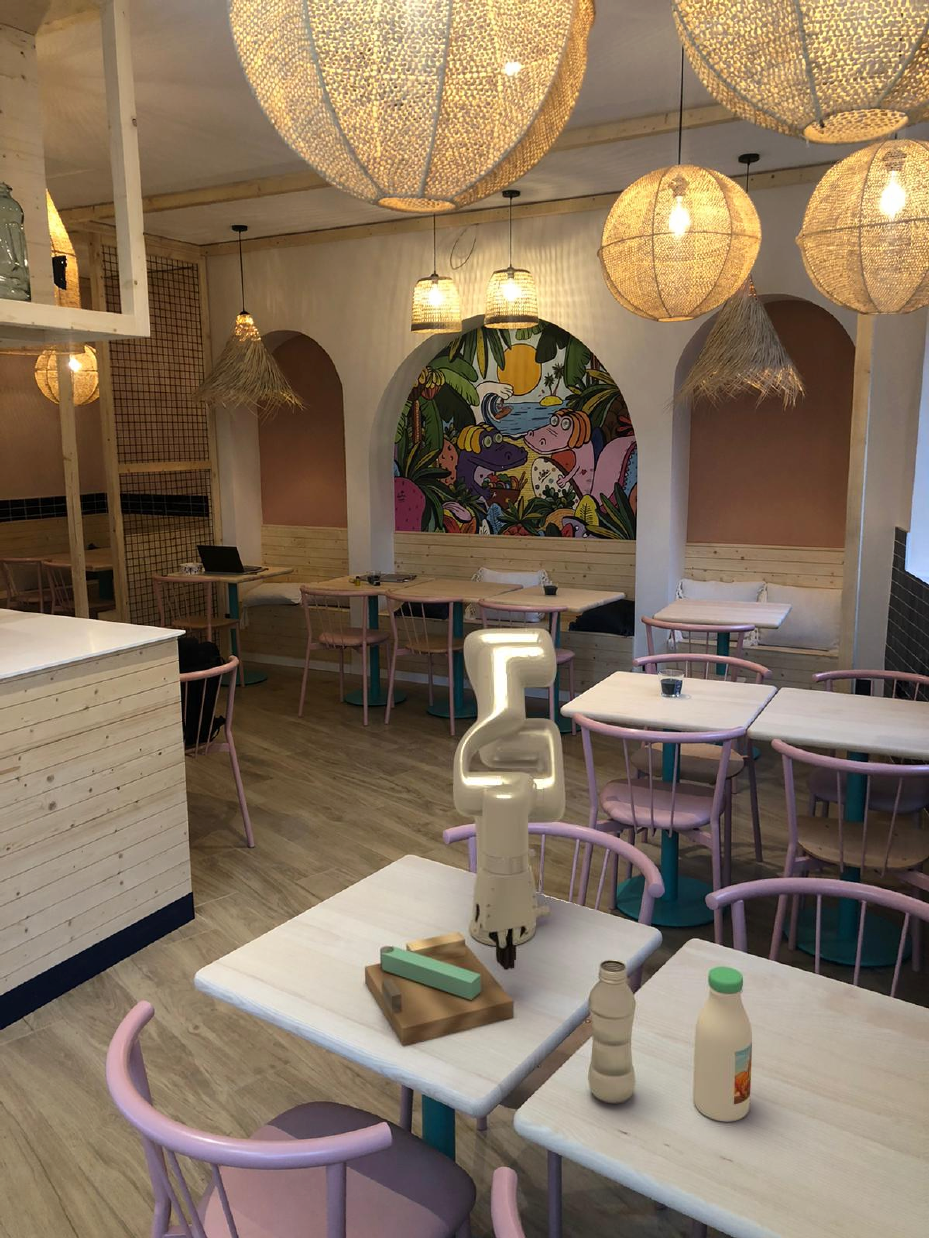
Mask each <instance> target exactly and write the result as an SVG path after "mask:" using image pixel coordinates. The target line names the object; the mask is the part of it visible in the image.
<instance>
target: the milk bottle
mask: <svg viewBox="0 0 929 1238" xmlns="http://www.w3.org/2000/svg"><path fill="white" fill-rule="evenodd" d="M707 979H708V984H707V987H708V990H709V994H708V997H707V998H706V1000H705V1003H704V1005H703V1006H702V1008H701V1010H700V1011H699V1015H698V1017H697V1018H696V1019H697V1020H696V1026H695V1037H694V1051H693V1052H694V1056H693V1086H692V1090H693V1091H692V1099H693V1103H694V1105H695V1106H696V1109H697V1110H698V1111H699V1112H700V1113H701V1114H702V1115H704V1116H705V1117H707V1118H709V1119H712V1120H714V1121H717V1122H726V1123H727V1122H728V1123H729V1122H736V1121H739V1120H742V1119H743V1118H744V1117H745V1116H746V1115H747V1114H748V1112H749V1110H750V1105H751V1104H750V1102H751V1086H752V1084H751V1083H752V1059H753V1057H752V1055H753V1033H752V1026H751V1021H750V1018H749V1016H748V1014H747V1011H746V1010H745V1007H744V1004H743V1001H742V993H743V991H744V989H743V988H744V987H743V986H744V978H743V974H742V973H741V972H740V971H738V970H737V969H735V968H732V967H728V966H716V967H713V968H712V969H710V970H709V971H708V977H707Z"/></svg>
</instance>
